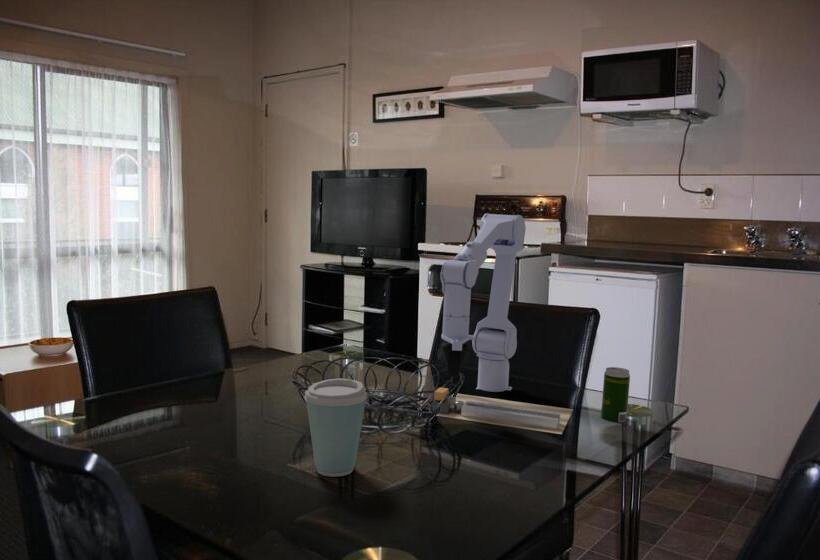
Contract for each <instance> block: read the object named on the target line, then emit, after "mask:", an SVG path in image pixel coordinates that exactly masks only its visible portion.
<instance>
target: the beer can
mask: <svg viewBox="0 0 820 560" xmlns="http://www.w3.org/2000/svg"><path fill="white" fill-rule="evenodd" d="M630 381H631V374H630V370H629V369H627V368H622V367H618V366H617V367H615V366H614V367H613V366H610V367H606V368H605V371H604V375H603V388H602V399H601V411H600V412H601V415H600V418H601V419H602V420H605V421H608V422H611V423H625V422H627V418H628V408H629V395H630Z"/></svg>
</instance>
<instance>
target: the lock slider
mask: <svg viewBox="0 0 820 560" xmlns="http://www.w3.org/2000/svg"><path fill="white" fill-rule="evenodd" d="M447 393H448V394H449V388H447V387H438V388H437V389H436V390H435V391H434V394H433V397H434V398H433V401H434V400H440V401H441V400H442V399H443V398H444V397H445V396H446V394H447ZM448 396H449V395H448ZM448 396H447V397H448ZM447 397H446V398H447ZM446 398H445V399H446ZM445 399H444V400H445Z"/></svg>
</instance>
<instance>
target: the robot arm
mask: <svg viewBox="0 0 820 560" xmlns="http://www.w3.org/2000/svg"><path fill="white" fill-rule="evenodd" d="M526 229H527V226H526V222H525V218H523V216H522V215H520V214H515V215H514V214H513V215H512V214H511V215H510V214H495V213H489V212H487V213H484V214H483V216H482V217H481V219H480V223H479V232H478V233H477V235H476V237H475V238H474V240H471V241H469V240H468V241H467V242H466V244H464V246H463V247H461V250H460V251H459V252H458V253H457V254H456V255H455V257H454V258H453V259H448V260H447V261H444V263H443V264H442V267H441V270H440V274H439V277H440V282H441V292H442V294H443V297H444V298H443V311H442V312H443V313H442V315H443V316H442V329H441V330H442V333H441V339H442V340H443V341H446V342H441V348H442V350H443V352H444V356H445V360H446V362H445V363H446V370H447V375H448V378H458V377H459V376H460V372H461V367H462V364H463V360H464V357H465V356H466V354H467V352H468V351H469V347H468V343H466V342H468V341H470V340H471V342H472V343H471V344H472V345H471V346H472V349H473V351H474V353H475V354H476V357H478V369H477V371H478V373H477V385H476V386H477V387H476V388H475V390H481V391H485V392H491V393H492V392H493V393H499V392H504V391H511V390H512V389H513V387H512V386H509V377H510V376H509V375H510V362H509V359H511V358H512V357H513V356H514V355H515V353H516V351H517V347H518V340H517V332H518V331H517V328H516V326H515V325H514V324H513V323H512V322H511V320H509V318H508V316H509V308H510V307H509V306H510V302H511V292H512V288H513V287H512V286H513V279H514V272H515V271H514V270H515V266H516V264H515V263H516V259H517V254H518V253H519V252H520V251H522V250H523V248H524V242H525V237H526ZM489 249H491V250H493V251H494V253H495V258H494V259H495V260H494V267H493V274H492V280H491V288H490V294H489V303H488V308H487V316H486V317H484V318H483V319H481V320H479V322H477V325H476V328H475V331H474V333H473V334H469V333H470V331H469V330H470V315H471V314H470V312H471V300H472V299H471V295H472V288H473V287H474V286H475V285H476V281H477V277H478V275H479V273H480V272H479V269H480V268H481V266H482V265H483V264H484V263H485V262H486V259H487V257H488V250H489ZM491 329H492V330H491ZM493 329H494V330H493ZM495 329H496V330H495ZM500 330H501V331H500ZM502 330H503V331H502Z"/></svg>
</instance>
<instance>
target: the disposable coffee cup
mask: <svg viewBox="0 0 820 560" xmlns="http://www.w3.org/2000/svg"><path fill="white" fill-rule="evenodd" d="M367 395H368V394H367V392H366V390H365V387H364V384H363V382H362V381H358V380H355V379H349V378H331V379H324V380H322V381H321V380H320V381H318V382H314V383H313V384H311V385H310V386H308V387H307V390H305V392H304V400H305V402H306V408H307V414H308V421H309V429H310V431H309V432H310V436H311V437H310V438H311V446H312V451H313V460H314V465H315V466H314V467H315V469H316V472H317V474H318V475H319V474H320V475H322V476H325V477H331V478H333V477H334V478H335V477H343V476H347V475H350V474H351V473H352V472H353V471H354V469H355V466H356V462H357V457H358V450H359V444H360V437H361V431H362V426H363V419H364V412H365V406H366V400H367V399H368V396H367Z"/></svg>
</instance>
